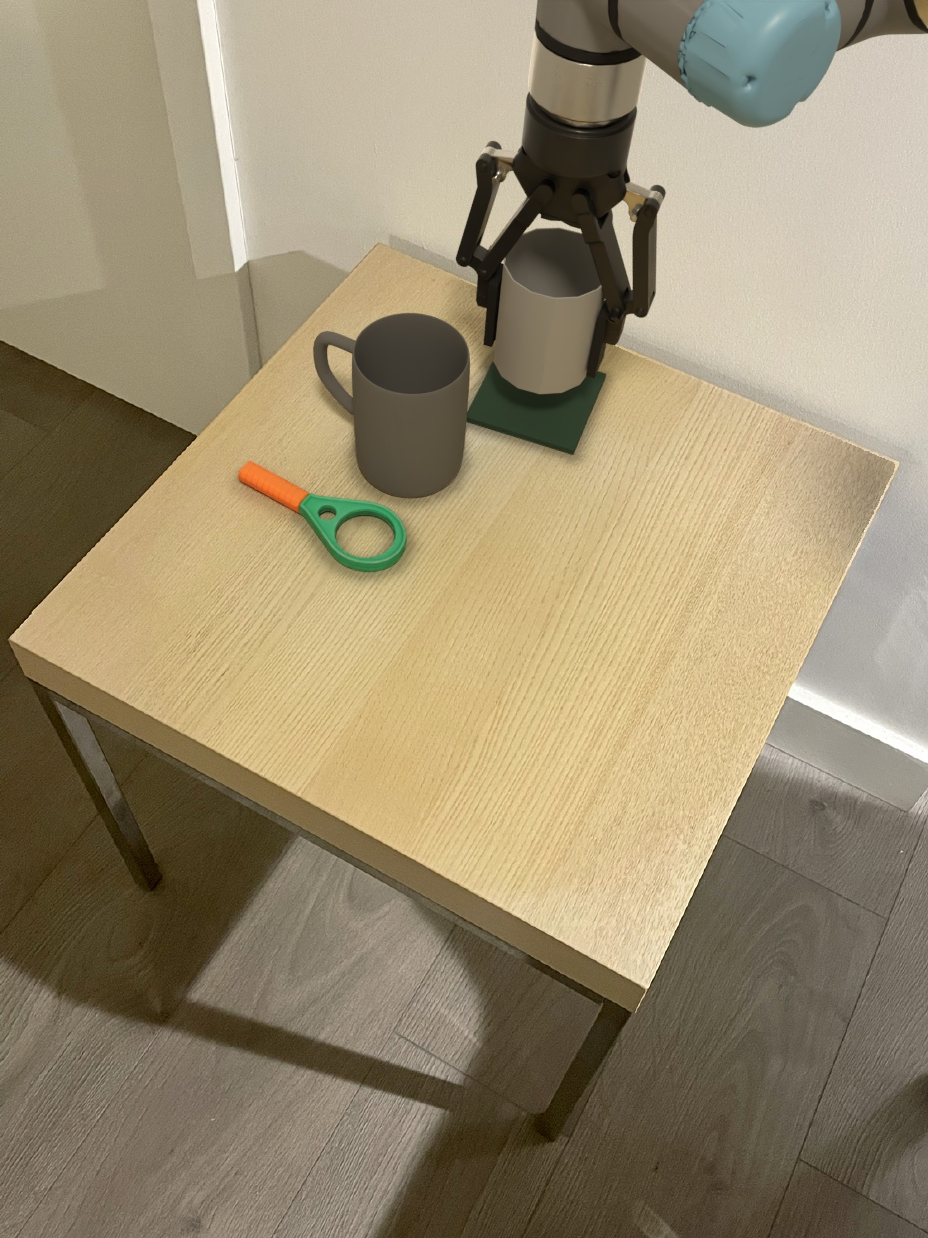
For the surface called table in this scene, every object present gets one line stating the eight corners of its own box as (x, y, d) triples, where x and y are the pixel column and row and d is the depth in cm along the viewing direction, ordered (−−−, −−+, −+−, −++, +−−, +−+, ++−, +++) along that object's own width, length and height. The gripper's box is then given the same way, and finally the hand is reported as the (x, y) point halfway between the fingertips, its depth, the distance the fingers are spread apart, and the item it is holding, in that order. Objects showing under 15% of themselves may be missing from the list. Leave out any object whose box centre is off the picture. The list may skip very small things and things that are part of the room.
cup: (524, 311, 94) (536, 214, 86) (607, 348, 92) (628, 252, 84) (475, 368, 90) (483, 271, 82) (561, 408, 88) (578, 313, 80)
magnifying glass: (420, 533, 87) (421, 520, 85) (379, 585, 84) (379, 572, 82) (268, 455, 90) (265, 441, 89) (223, 502, 87) (220, 488, 86)
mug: (482, 446, 92) (493, 339, 82) (428, 517, 88) (432, 413, 78) (348, 384, 95) (343, 274, 85) (289, 450, 91) (276, 342, 81)
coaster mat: (605, 378, 97) (606, 373, 97) (573, 455, 92) (574, 450, 92) (501, 347, 99) (502, 342, 98) (464, 421, 94) (464, 416, 93)
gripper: (749, 106, 72) (675, 357, 91) (454, 30, 75) (442, 289, 94) (724, 168, 68) (652, 417, 87) (414, 86, 71) (410, 344, 90)
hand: (543, 350), depth 91 cm, fingers closed on cup, 8 cm apart
